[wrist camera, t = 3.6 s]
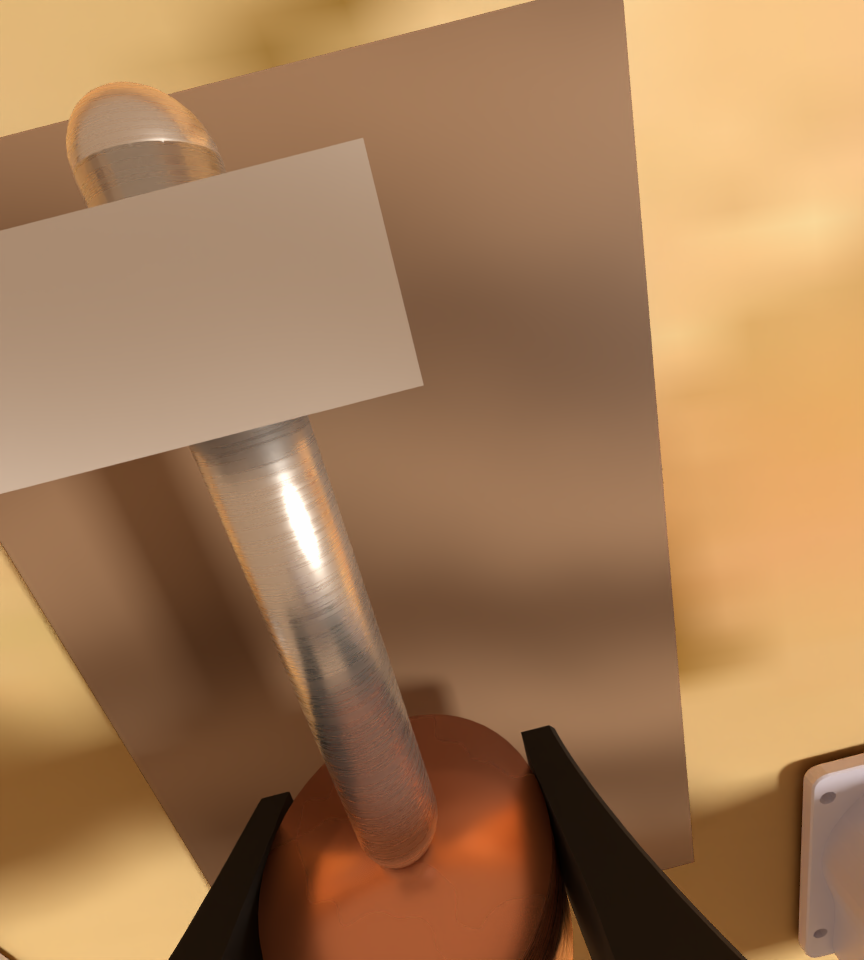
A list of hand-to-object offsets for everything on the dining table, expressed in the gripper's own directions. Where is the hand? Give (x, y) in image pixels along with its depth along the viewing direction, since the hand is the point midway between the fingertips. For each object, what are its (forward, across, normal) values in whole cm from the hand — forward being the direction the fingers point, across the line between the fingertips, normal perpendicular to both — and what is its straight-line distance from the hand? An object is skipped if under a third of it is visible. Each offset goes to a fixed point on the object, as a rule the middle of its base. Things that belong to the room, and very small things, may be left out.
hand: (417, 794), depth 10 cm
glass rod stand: (+1, 0, -5) cm, 5 cm away
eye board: (+3, 0, -3) cm, 4 cm away
